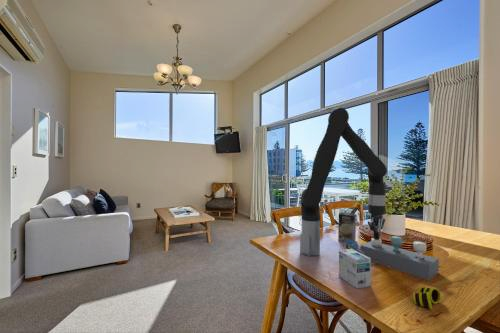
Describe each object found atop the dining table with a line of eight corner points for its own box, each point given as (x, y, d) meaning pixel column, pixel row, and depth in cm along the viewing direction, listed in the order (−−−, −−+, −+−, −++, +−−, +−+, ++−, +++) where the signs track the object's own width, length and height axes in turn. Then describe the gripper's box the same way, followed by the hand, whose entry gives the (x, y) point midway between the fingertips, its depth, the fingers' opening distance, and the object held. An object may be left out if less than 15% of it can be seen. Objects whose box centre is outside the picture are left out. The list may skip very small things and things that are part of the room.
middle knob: (399, 256, 103) (399, 239, 103) (389, 253, 107) (389, 237, 107) (403, 254, 106) (404, 238, 106) (393, 251, 110) (393, 235, 109)
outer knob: (423, 263, 96) (424, 245, 96) (411, 260, 100) (411, 242, 100) (427, 261, 99) (428, 243, 99) (415, 257, 102) (415, 240, 102)
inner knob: (378, 257, 111) (378, 241, 111) (369, 254, 114) (369, 238, 114) (383, 255, 113) (383, 239, 113) (374, 252, 117) (374, 237, 117)
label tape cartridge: (365, 272, 99) (365, 243, 99) (357, 273, 98) (357, 243, 98) (352, 263, 107) (353, 236, 107) (345, 264, 107) (345, 237, 107)
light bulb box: (371, 286, 87) (371, 257, 87) (356, 289, 85) (357, 259, 85) (351, 273, 98) (351, 248, 97) (337, 275, 96) (338, 249, 95)
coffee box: (337, 240, 139) (337, 214, 139) (339, 237, 145) (340, 212, 144) (354, 243, 134) (354, 215, 134) (356, 240, 140) (356, 213, 140)
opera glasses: (424, 297, 82) (420, 282, 82) (442, 301, 77) (439, 286, 78) (413, 307, 76) (409, 291, 77) (432, 312, 72) (428, 295, 72)
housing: (429, 280, 92) (429, 265, 92) (360, 257, 115) (360, 245, 115) (438, 272, 98) (438, 258, 98) (371, 252, 121) (371, 240, 121)
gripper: (375, 201, 120) (375, 234, 121) (362, 204, 113) (361, 239, 113) (391, 203, 114) (391, 238, 115) (378, 206, 107) (377, 244, 107)
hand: (376, 239), depth 114 cm, fingers closed
